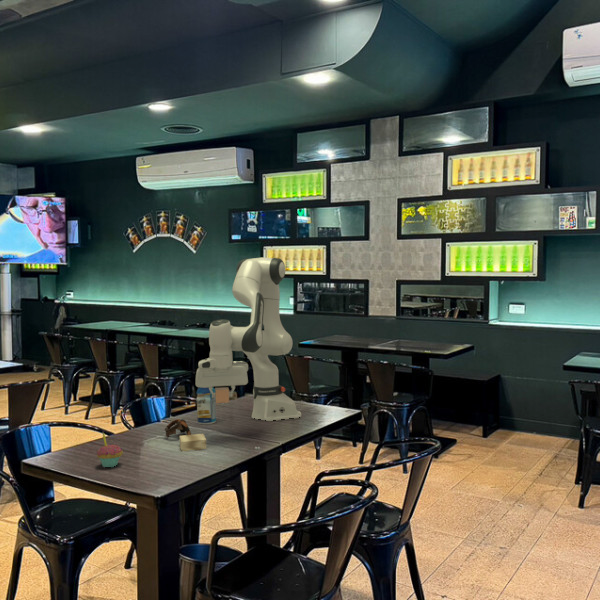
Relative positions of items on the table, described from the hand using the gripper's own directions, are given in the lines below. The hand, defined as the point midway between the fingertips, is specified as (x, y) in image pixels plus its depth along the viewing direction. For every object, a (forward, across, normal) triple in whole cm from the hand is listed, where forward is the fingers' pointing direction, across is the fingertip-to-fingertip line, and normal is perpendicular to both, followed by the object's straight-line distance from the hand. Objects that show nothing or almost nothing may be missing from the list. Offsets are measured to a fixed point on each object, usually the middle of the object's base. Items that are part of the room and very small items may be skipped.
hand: (222, 397), depth 244 cm
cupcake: (+17, +40, +23) cm, 49 cm away
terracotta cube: (+2, 0, 0) cm, 2 cm away
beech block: (+17, +12, +7) cm, 22 cm away
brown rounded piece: (+17, +17, -10) cm, 26 cm away
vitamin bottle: (+17, +6, -31) cm, 36 cm away
